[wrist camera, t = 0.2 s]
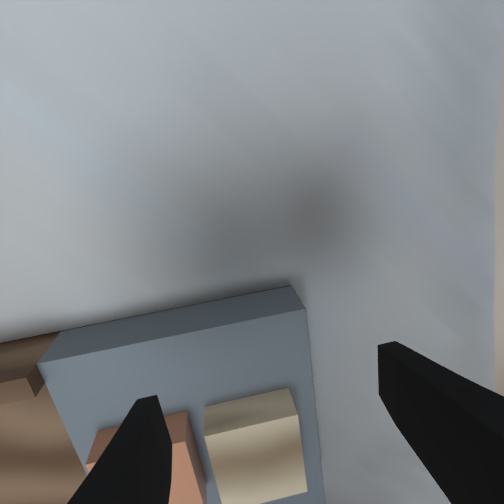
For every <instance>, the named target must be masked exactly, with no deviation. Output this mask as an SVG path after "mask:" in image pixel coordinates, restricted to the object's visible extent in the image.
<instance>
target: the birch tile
mask: <svg viewBox="0 0 504 504" xmlns="http://www.w3.org/2000/svg"><path fill="white" fill-rule="evenodd" d="M204 438H205V441H206V445H207V449H208V453H209V457H210V460H211V464H212V468H213V472H214V476H215V480H216V483H217V487H218V491H219V495H220V499H221V502H222V504H261V503H265V502H269V501H273V500H277V499H281V498H284V497H288V496H292V495H296V494H300V493H304V492H307V484H306V476H305V468H304V460H303V452H302V444H301V436H300V428H299V420H298V414H297V411H296V408H295V405H294V402H293V399H292V396H291V394H290V391H289V388H285V389H281V390H276V391H272V392H267V393H263V394H259V395H254V396H250V397H245V398H241V399H237V400H232V401H228V402H223V403H219V404H215V405H210V406H206V407H204Z"/></svg>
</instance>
